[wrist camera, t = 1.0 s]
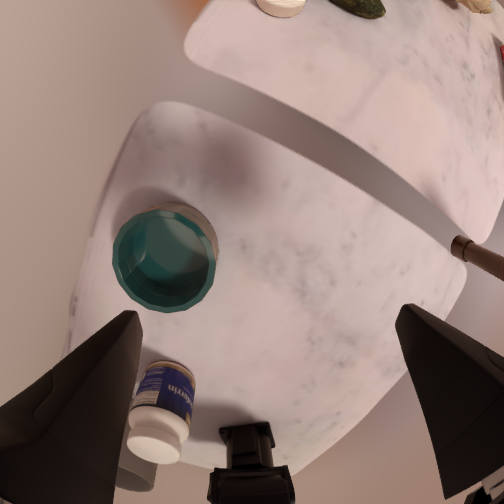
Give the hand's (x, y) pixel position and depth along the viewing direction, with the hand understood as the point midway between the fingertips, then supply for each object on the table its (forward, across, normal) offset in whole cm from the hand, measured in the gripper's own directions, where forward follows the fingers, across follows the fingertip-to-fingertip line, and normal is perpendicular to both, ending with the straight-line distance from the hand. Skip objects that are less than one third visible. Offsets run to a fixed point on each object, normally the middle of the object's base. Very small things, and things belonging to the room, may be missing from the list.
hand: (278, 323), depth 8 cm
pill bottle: (+11, +8, +19) cm, 23 cm away
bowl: (+14, +6, +4) cm, 16 cm away
